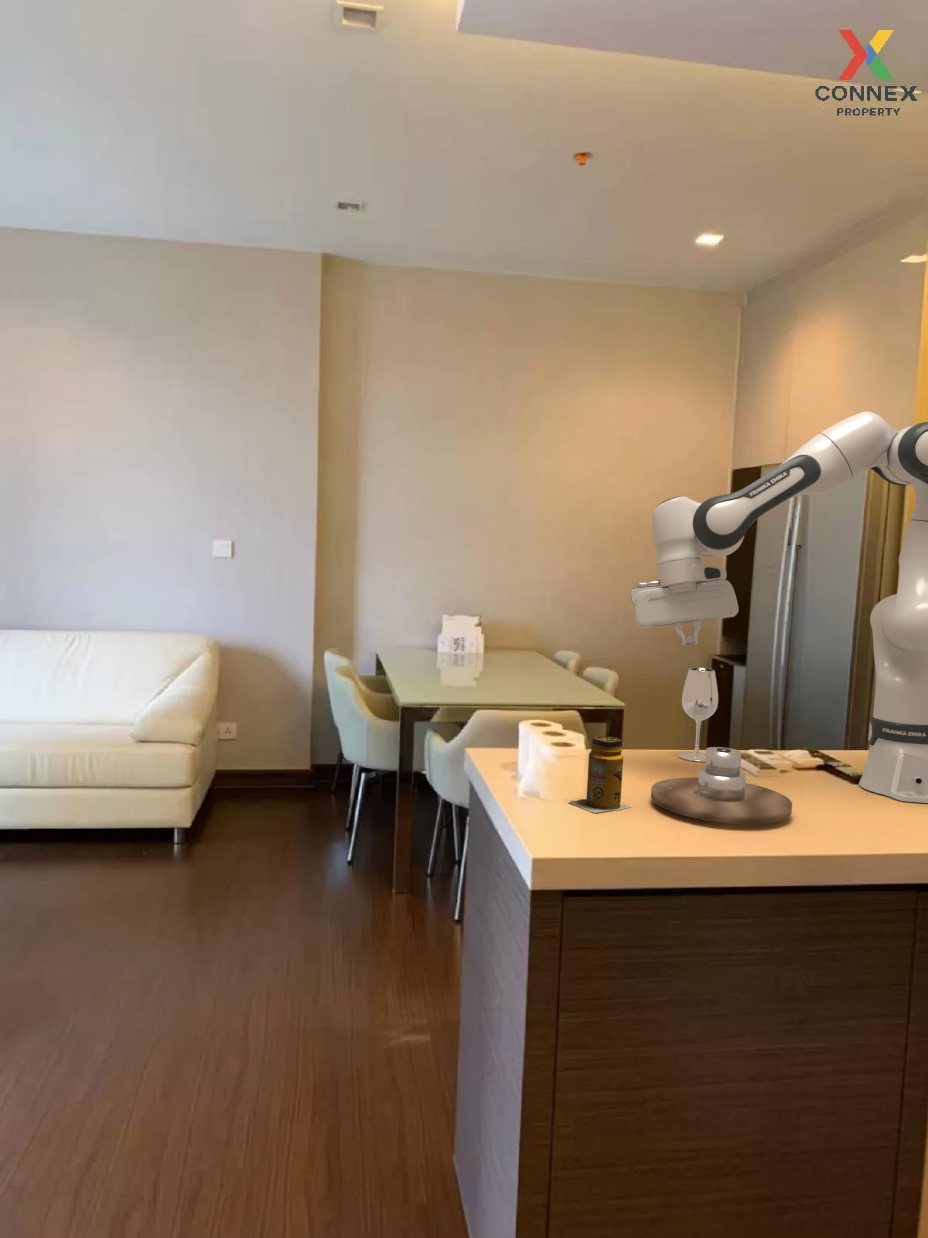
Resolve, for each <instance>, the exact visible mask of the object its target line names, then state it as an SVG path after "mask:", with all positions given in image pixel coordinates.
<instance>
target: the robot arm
mask: <svg viewBox="0 0 928 1238" xmlns="http://www.w3.org/2000/svg"><path fill="white" fill-rule="evenodd" d="M869 469H871V470H872V471H873V472H875V473H876V474H877V475H878V476H879V477H881V478H882V479H883V480H884V481H886V482H888V483H890V484H892V485H894V486H895V485H896V486H903V487H904V486H911V485H912V488H913V490H914V495H915V497H914V498H915V500H914V501H915V502H914V508H913V511H912V514H911V516H910V519H909V522H908V526H907V529H906V533H905V536H904V540H903V543H902V546H901V549H900V553H899V556H898V567H899V572H898V585H897V592H896V594H892V595H889V596H887V597H885V598H883V599H882V600H879V602H878V603H877V604H875V605H874V607H873V608H872V611H871V614H870V618H869V620H870V622H869V623H870V627H871V630H872V642H873V644H872V645H873V657H874V658H873V659H874V665H875V667H874V670H875V685H874V686H875V687H874V688H875V689H874V703H873V714H872V716H871V717H870V720H869V721H870V722H869V725H868V743H869V748H868V754H867V756H866V761H865V762H866V763H865V767H864V769H863V773H862V775H861V778H860V780H859V782H858V785H859V786H860V787H861V788H863V789H865V790H867V791H870V792H873V793H876V794H880V795H884V796H887V797H889V798H892V799H894V800H897V801H902V802H909V803H922V804H928V421H923V422H919V423H917V424H913V425H910V426H907V427H904V428H902V429H899V430H898V429H894V428H892V427H890V425H889V423H887V420H886V419H884V418H883V417H882V416H880V415H879V414H877V413H875V412H873V411H861V412H858V413H856V414H854V415H851V416H848V417H847V418H845V419H842V420H840V421H838V422H836V423H835V424H833V425H831V426H829V427H827V428H825V430H823V431H821V432H819V433H818V434H817V435H815V436H813V437H812V438H811V439H809V440H808V441H806V442H805V443H804V444H803V445H801V446H800V447H799V448H798V449H797V450H796V451H794V453H792V454H791V455H790V456H789V457H788V458H787V459H786V460H785V461H783V462H782V463H781V464H780V465H779V466H778V467H776V468H774V469H773V470H771V471H770V472H768V473H766V474H764V475H763V476H762V477H760V478H758V479H757V480H755V481H753V482H752V483H750V484H749V485H747V486H745V487H744V488H742V489H740V490H737V491H735V492H731V493H727V494H720V495H717V496H713V497H710V498H708V499H706V500H705V501H703V502H702V503H701V502H697V501H696V500H693V499H690V498H689V497H688V496H684V495H681V496H674V497H671V498H668V499H666V500H663V501H661V502H660V503H659V504H657V505H656V506H655V508H654V509H653V512H652V516H651V529H652V530H651V532H652V541H653V546H654V549H655V551H656V555H657V561H656V568H657V575H658V579H657V580H652V581H648V582H639V583H637V584H636V585H634V586H633V587H631V590H630V598H631V599H630V600H631V603H632V604H633V605H634V606H635V612H634V613H635V624H636V626H637V627H638V628H639V629H646V628H647V629H648V628H655V627H663V626H664V627H665V626H672V625H673V626H674V630H675V632H676V633H677V634H678V636H679V637H680V638H681V643H682V646H683V647H684V646H685V647H686V646H692V645H698V644H699V641H698V639H699V638H698V634H699V633H700V630H701V627H702V622H703V621H709V620H710V621H711V620H718V619H727V618H733V617H735V616H737V614H738V613H739V611H740V610H739V605H738V600H737V596H736V593H735V589H734V587H733V585H732V584H731V582H730V581H729V580H728V579H727V570H726V569H725V568H724V567H718V566H712V565H707V564H703V563H702V556H705V557H725V556H728V555H731V554H732V553H734V552H735V551H737V550H738V549H739V548H740V547H741V545H742V543H743V541H744V538H745V535H746V533H747V531H748V530H749V528H750V527H751V526H752V525H753V523H755V521H756V520H758V519H759V518H761V517H763V516H765V515H767V514H768V513H769V512H771V511H772V510H774V509H775V508H777V507H779V506H780V505H782V504H783V503H785V502H787V501H788V500H791V499H793V498H795V497H798V496H802V495H803V496H804V495H805V496H810V497H819V496H820V497H821V496H823V495H826V494H827V493H830V492H832V491H834V490H836V489H838V488H841V487H842V486H843V485H846V484H847V483H849V481H852V480H853V479H854V478H856V477H857V476H859V475H861V474H862V473H864V472H865V471H867V470H869ZM726 579H727V580H726ZM686 623H692V626H693V628H695V630H694V632H693V635H686V634H684V632H683V631H682V630H681V629H683V624H686Z"/></svg>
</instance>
